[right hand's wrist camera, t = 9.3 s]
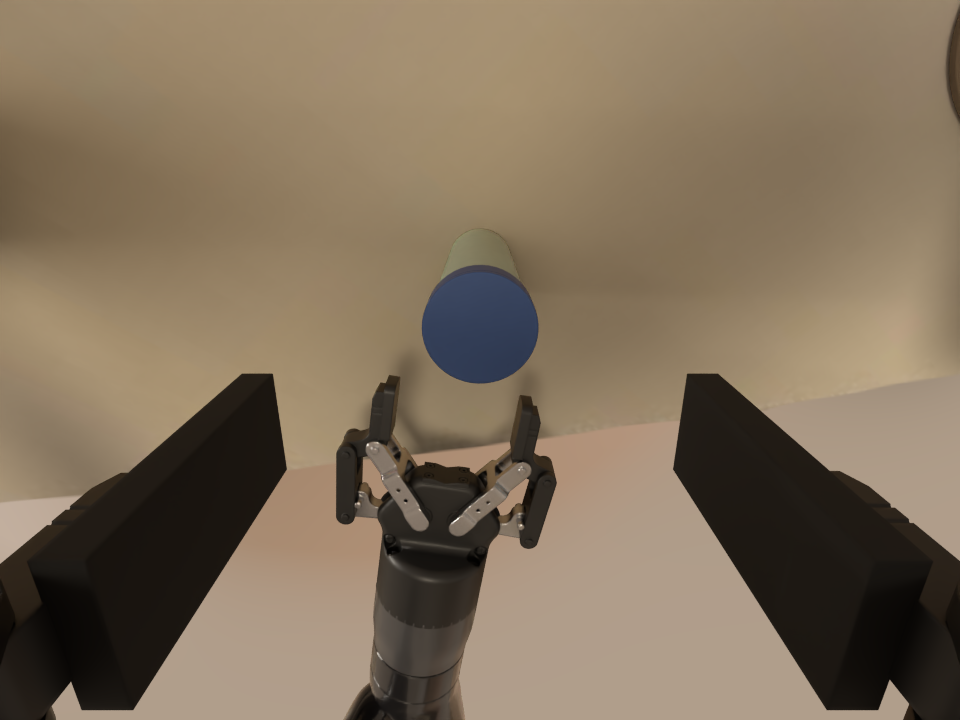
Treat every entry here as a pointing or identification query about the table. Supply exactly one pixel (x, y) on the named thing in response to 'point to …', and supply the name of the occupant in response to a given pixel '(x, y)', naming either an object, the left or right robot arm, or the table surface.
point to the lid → (480, 324)
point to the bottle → (480, 252)
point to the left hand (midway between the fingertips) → (459, 390)
